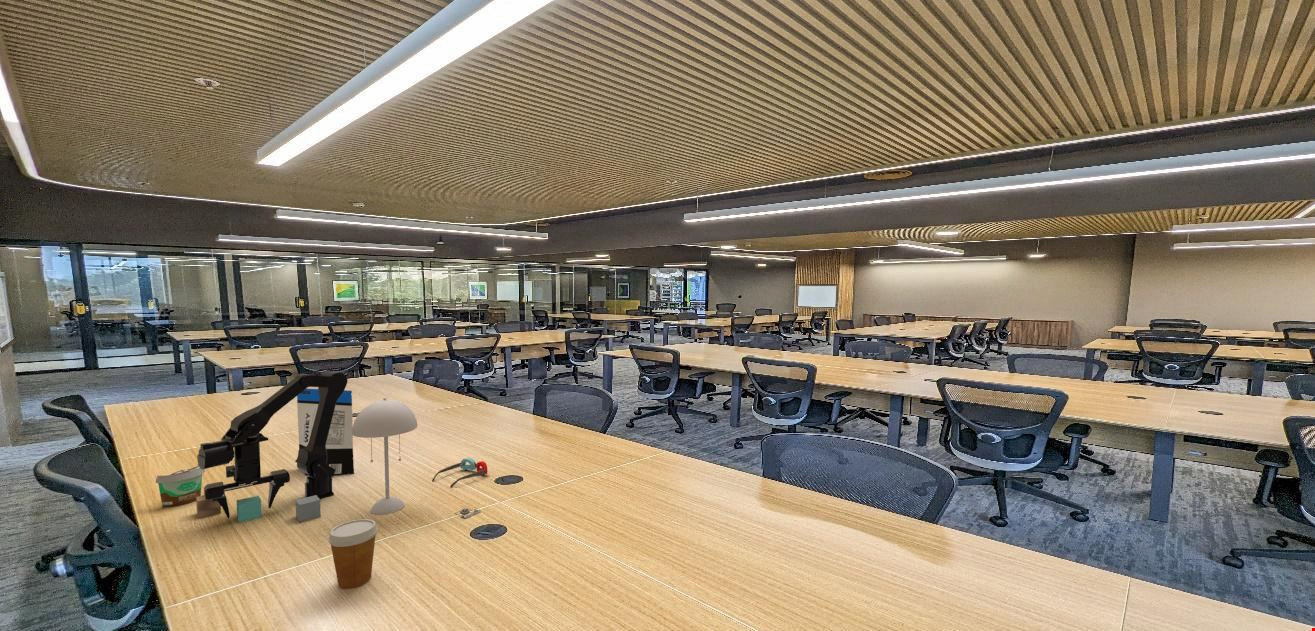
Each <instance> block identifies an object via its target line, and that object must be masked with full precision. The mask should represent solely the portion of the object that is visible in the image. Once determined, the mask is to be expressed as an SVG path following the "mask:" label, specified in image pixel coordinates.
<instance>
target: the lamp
mask: <svg viewBox="0 0 1315 631" xmlns="http://www.w3.org/2000/svg"><path fill="white" fill-rule="evenodd" d="M417 420H418V419H417V417H416V415H415V413H414V412H413V410H412V409H411V408H410V407H409V406H408V405H407V404H405V403H404V402H401V401H399V400H395V399H389V398H388V399H387V397H383V399H380V400H377V401H373V402H371V403H369V404H368V405H365V407H363V408H362V410H360V412H359V413H358V414H357V416H356V417H355V419H354V420H353V428H352V435H353V437H355V438H362V439H365V438H366V439H368V438H370V451H371V452H370V455H371V457H370V458H373V446H372V444H373V443H372V441H373V439H374V438H375V439H376V438H383V444H384V445H383V451H384V452H383V455H384V481H385V482H384V488H385V497H383V498H380V499H379V500H377V501H376V502H375V503H374V504H373V505H372V506H371V508H370V510H369V512H370V514H373V515H387V514H391V513H395V512H398V511H400V510H402V509H403V508H405V505H406V504H405V502H404V501H403V500H402V499H400V498H398V497H396V496H390V468H389V467H390V466H389V465H390V464H389V459H390V458H389V437H393V436H397V435H398V439H399V441H398V443H399V446H398V447H399V452H401V437H400V435H403V434H406V433H410V432H413V431H414V430H416V429H417V428H418V421H417ZM372 438H373V439H372ZM398 461H399V462H401V461H402V458H401V457H399V458H398ZM369 462H370V463H374V460H373V459H370V461H369Z"/></svg>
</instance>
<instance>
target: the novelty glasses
mask: <svg viewBox="0 0 1315 631" xmlns="http://www.w3.org/2000/svg"><path fill="white" fill-rule="evenodd" d="M467 463H468V464H467ZM457 468H460V469H461V470H462V471H463V472H465V471H467V470H469V471H474V470H476V471H475V472H472V473H470V474H467V475H465V476H462V477H460V478H458V479H456V480H455V481H454V482H453V483H451V484H450V486H449V488H454V487H455V485H456V484H457V483H458V482H460V481H462V480H465V479H471V478H474V477H477V476H480V475H483V476H484V475H487V474H488V465H487V463H486V462H485V461H484V460H481V461H478V462H476V461H475V460H474V458H471V457H466V458H463V459H462V460H460V462H458V463H455V464H453V465H450V466H446V467H445V468H443V469H440V470H439V471H438V472H437V473H436V474H435V475H434V476H433V478H432V480H431V482H432V483H433V482H434V481H435V480H436V477H437V475H439V474H441V473H444V472H447V471H451V470H454V469H457Z"/></svg>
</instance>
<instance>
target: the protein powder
mask: <svg viewBox="0 0 1315 631" xmlns="http://www.w3.org/2000/svg"><path fill="white" fill-rule="evenodd" d="M352 393H353V392H352V390H344V392H343V394H342V395H341V396H340V397H339V399H338V400H337V402H336V406H335V410H334V414H333V418H332V422H331V426H330V430H329V434H328V438H327V442H326V451H327V465H329V466H330V467H332V468H333V469H335V473H334V476H333V477H335V476H336V477H337V476H338V477H339V476H347V475H354V474H355V468H354V466H355V463H354V445H353V444H354V441H353V440H354V439H353V438H354V436H353V435H352V428H353V424H354V420H353V395H352ZM296 399H297V400H296V402H297V404H296V406H297V427H298V428H297V429H298V450H299V449H303V450H304V449H305V447H306V446H307V445H308V443H309V439H310V435H311V431H312V428H313V424H314V420H315V416H316V412H317V408H318V404H319V401H320V396H319V391H318V388H306V389H305V390H304V391H302V392H301V393H300V394H299V395H297V396H296Z"/></svg>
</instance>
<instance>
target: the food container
mask: <svg viewBox="0 0 1315 631" xmlns="http://www.w3.org/2000/svg"><path fill="white" fill-rule="evenodd" d="M205 472H206V469H200V467H199V464H198V463H197V466H195V467H191V468H188V469H181V470H178V471H175V472H173V473H171V474H167V475H157V476H156V478H155V484H158V490H159V494H160V495H159V496H160V501H161V502H160V503H161V507H162V508H174V507H180V506H184V505H189V504H191V503H193V502H194V503H195V502H196V497H198V496H202V483H203V474H205Z"/></svg>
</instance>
